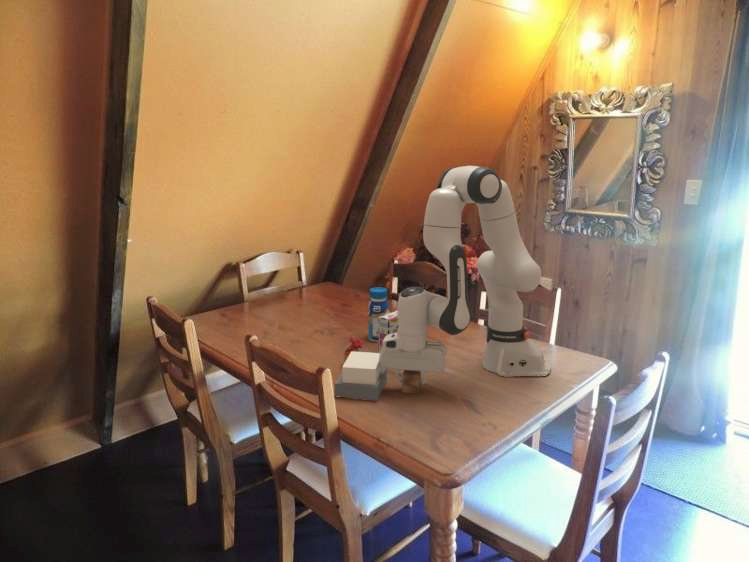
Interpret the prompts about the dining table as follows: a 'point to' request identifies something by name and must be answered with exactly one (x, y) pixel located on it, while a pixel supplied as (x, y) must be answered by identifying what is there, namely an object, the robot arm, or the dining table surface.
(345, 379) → the tower top
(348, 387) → the tower base
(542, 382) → the dining table surface
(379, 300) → the beverage bottle
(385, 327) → the candy bar box
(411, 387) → the walnut block
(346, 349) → the bird rattle
